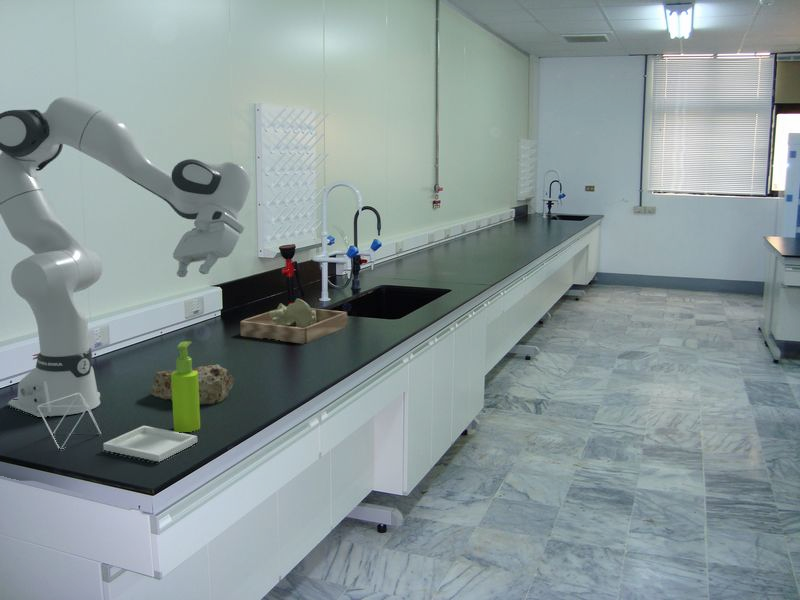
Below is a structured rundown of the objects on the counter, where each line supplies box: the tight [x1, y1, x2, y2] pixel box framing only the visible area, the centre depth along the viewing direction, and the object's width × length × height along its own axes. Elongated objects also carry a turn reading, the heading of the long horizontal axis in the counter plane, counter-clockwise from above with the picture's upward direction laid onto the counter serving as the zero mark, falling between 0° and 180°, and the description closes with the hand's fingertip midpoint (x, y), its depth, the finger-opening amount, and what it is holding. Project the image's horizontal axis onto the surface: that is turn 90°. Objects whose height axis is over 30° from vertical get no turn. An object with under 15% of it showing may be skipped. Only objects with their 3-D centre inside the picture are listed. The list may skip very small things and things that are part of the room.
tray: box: [103, 425, 198, 462], centre depth 164 cm, size 15×12×2 cm
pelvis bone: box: [268, 298, 316, 328], centre depth 271 cm, size 20×14×15 cm
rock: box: [150, 363, 235, 405], centre depth 199 cm, size 21×14×10 cm
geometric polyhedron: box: [37, 393, 102, 450], centre depth 168 cm, size 12×11×9 cm
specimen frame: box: [240, 305, 348, 345], centre depth 272 cm, size 26×30×5 cm
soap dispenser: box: [171, 341, 201, 433], centre depth 174 cm, size 6×7×20 cm
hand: (191, 274), depth 178 cm, fingers open, 8 cm apart
